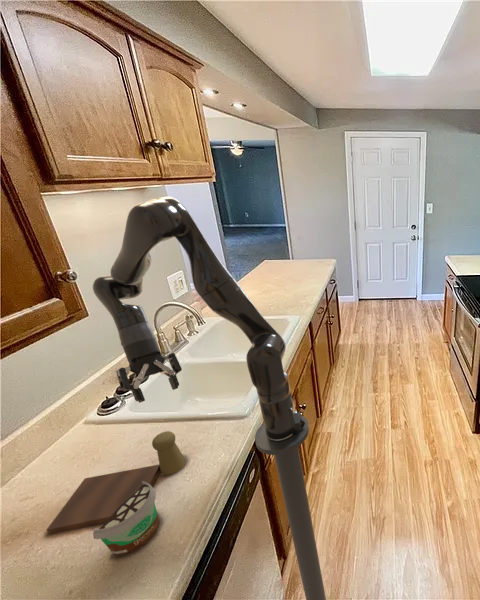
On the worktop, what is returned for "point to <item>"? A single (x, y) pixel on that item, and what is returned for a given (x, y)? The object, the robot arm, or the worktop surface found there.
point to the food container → (131, 523)
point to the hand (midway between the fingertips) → (159, 395)
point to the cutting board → (101, 498)
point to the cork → (168, 453)
